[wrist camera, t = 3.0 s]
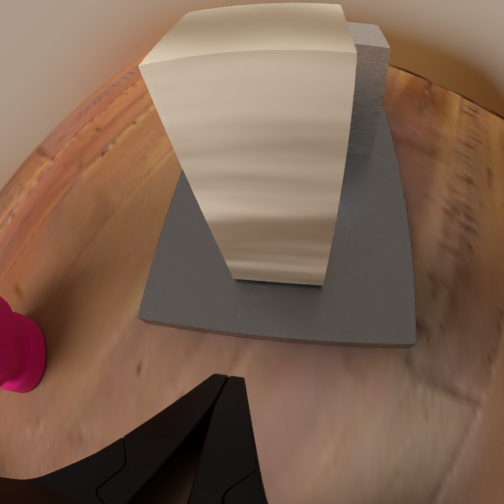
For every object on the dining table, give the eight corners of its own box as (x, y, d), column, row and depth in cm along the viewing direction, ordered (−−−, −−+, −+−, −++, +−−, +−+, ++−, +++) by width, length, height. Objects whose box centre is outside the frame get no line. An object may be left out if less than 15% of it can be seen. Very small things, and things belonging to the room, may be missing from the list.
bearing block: (408, 347, 16) (511, 280, 7) (146, 322, 18) (37, 246, 9) (382, 117, 24) (397, 18, 15) (211, 112, 27) (184, 19, 18)
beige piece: (322, 285, 17) (357, 53, 5) (233, 278, 17) (138, 66, 6) (324, 119, 23) (323, -35, 11) (263, 118, 24) (239, -32, 12)
